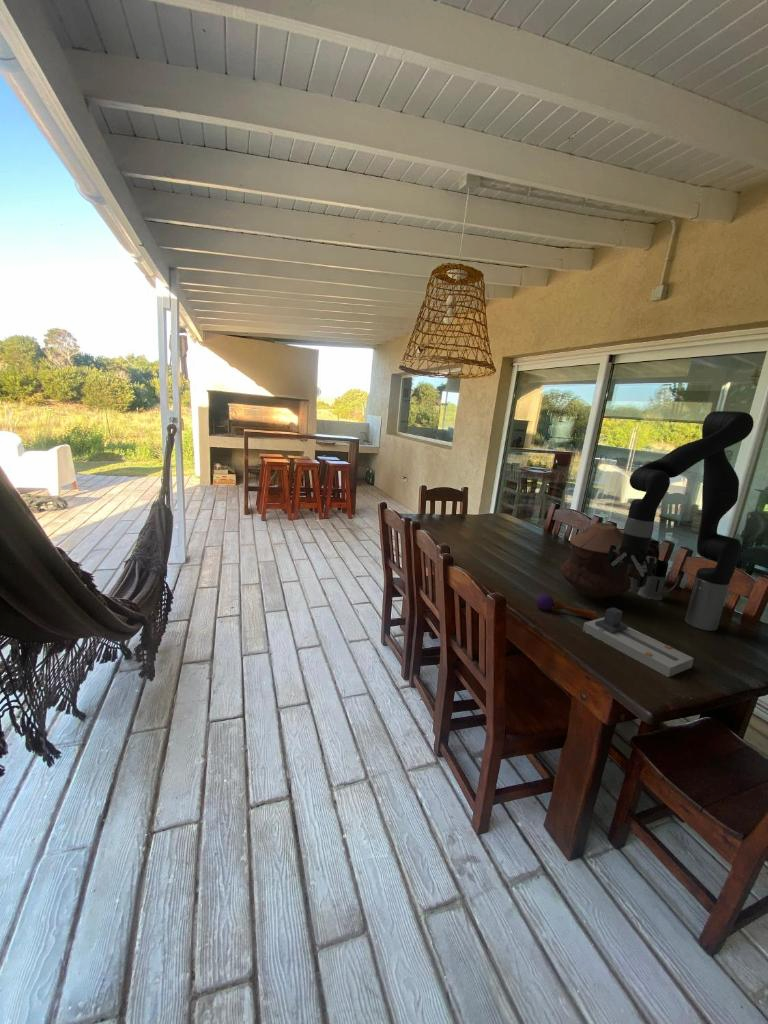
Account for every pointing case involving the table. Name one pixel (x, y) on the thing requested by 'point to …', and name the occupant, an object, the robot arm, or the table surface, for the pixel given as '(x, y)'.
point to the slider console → (642, 649)
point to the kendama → (561, 606)
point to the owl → (652, 552)
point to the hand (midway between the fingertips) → (626, 581)
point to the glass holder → (656, 582)
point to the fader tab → (612, 621)
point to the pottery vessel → (595, 563)
